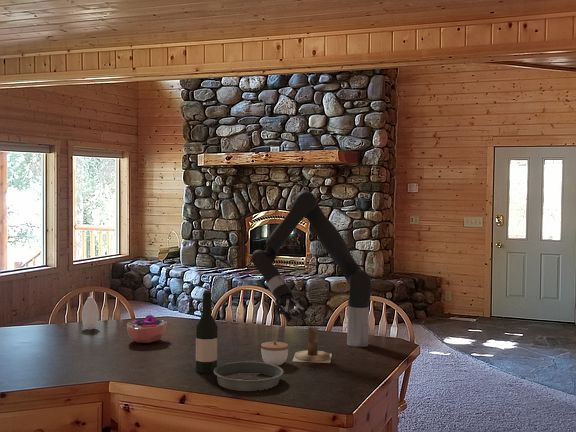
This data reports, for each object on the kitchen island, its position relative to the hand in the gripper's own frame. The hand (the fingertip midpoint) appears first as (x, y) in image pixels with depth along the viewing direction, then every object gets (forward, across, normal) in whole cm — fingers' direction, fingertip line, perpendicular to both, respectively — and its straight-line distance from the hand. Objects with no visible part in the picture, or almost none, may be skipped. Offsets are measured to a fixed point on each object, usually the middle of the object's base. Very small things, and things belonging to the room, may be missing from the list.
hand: (298, 319), depth 275 cm
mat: (+16, 0, +4) cm, 17 cm away
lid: (+16, 0, +4) cm, 16 cm away
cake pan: (+23, -41, -2) cm, 47 cm away
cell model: (-30, -36, +51) cm, 70 cm away
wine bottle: (+7, -44, +13) cm, 46 cm away
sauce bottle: (-58, -43, +78) cm, 107 cm away
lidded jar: (+14, -18, +6) cm, 24 cm away
